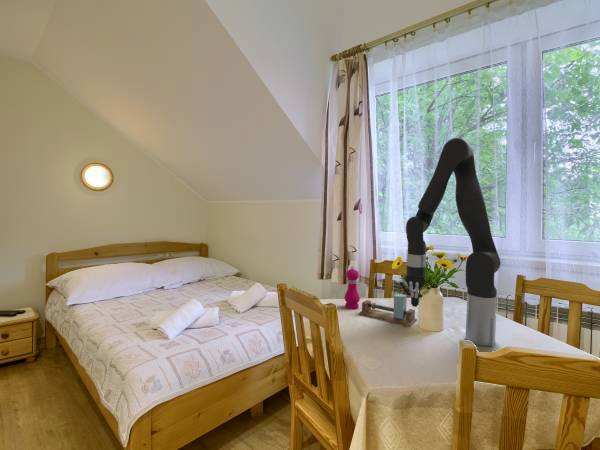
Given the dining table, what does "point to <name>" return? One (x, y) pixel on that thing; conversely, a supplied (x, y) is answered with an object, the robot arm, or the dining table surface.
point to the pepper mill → (352, 289)
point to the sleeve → (399, 306)
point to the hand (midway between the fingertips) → (414, 306)
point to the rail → (387, 314)
